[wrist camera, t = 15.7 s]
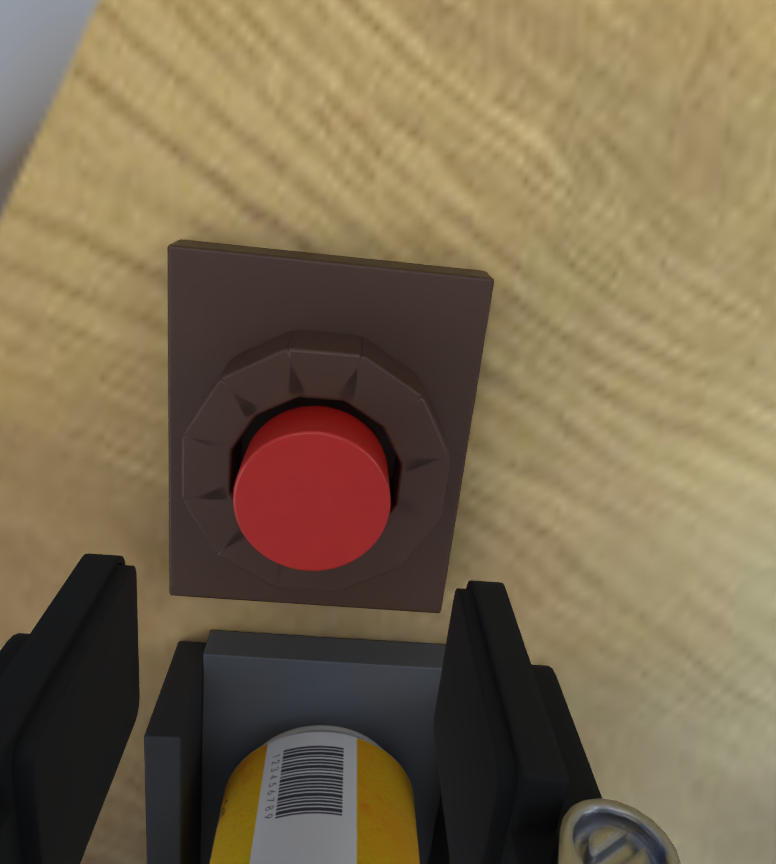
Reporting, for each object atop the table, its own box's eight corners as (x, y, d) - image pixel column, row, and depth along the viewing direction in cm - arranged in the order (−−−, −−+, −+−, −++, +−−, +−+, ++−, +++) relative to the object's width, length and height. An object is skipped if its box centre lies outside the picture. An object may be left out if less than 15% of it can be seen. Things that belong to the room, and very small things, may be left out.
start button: (241, 529, 18) (229, 566, 17) (245, 398, 17) (234, 424, 15) (379, 540, 19) (382, 577, 17) (395, 411, 17) (399, 438, 16)
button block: (178, 573, 22) (151, 635, 19) (178, 239, 18) (145, 254, 15) (436, 591, 22) (447, 654, 20) (487, 270, 19) (509, 292, 16)
